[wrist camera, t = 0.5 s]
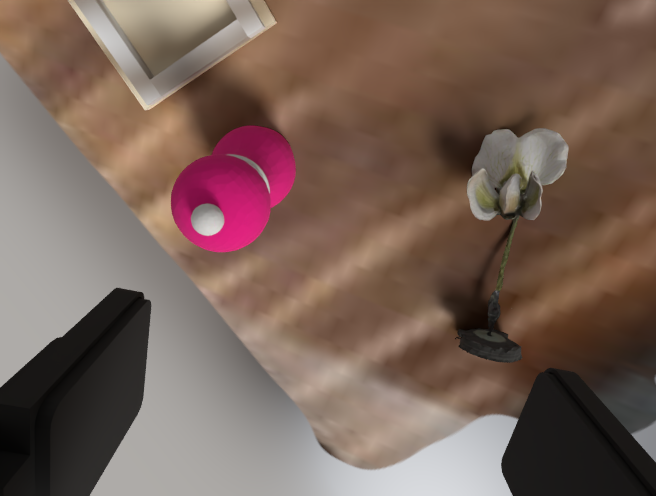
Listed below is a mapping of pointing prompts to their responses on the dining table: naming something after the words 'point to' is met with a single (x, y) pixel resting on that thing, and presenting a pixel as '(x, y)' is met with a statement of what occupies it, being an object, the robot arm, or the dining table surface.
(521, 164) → the artificial flower
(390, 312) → the dining table surface
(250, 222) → the pepper mill
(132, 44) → the rail board
